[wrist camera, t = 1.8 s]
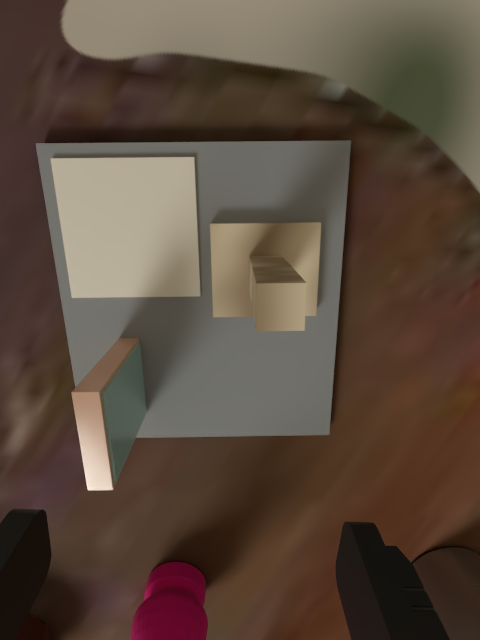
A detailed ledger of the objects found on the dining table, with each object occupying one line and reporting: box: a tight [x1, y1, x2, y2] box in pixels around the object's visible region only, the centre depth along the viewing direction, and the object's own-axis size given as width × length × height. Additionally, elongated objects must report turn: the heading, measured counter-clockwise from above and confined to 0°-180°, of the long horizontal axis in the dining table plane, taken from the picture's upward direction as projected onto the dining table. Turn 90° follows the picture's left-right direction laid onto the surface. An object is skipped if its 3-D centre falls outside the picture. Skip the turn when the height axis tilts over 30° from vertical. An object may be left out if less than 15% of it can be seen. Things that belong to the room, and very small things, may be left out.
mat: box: [36, 140, 351, 438], centre depth 29 cm, size 22×24×1 cm
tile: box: [71, 338, 147, 490], centre depth 26 cm, size 2×7×9 cm, turn 1°
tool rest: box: [50, 157, 201, 298], centre depth 27 cm, size 10×10×1 cm
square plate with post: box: [210, 222, 321, 331], centre depth 23 cm, size 8×7×11 cm
